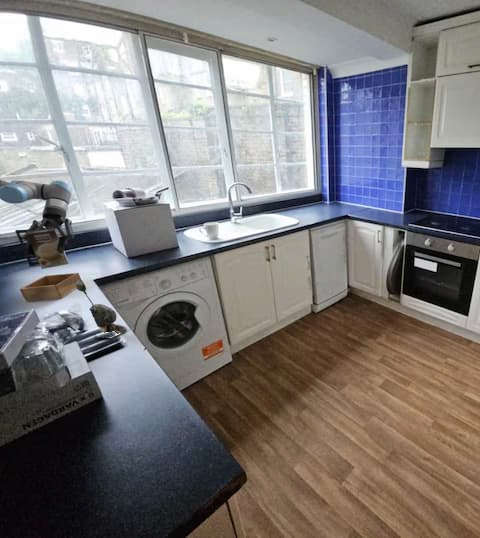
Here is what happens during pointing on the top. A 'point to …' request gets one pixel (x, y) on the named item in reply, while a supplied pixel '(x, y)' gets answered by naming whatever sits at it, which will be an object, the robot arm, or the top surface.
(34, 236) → the coffee box
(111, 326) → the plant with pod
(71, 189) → the robot arm
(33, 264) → the holder
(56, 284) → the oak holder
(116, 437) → the top surface
